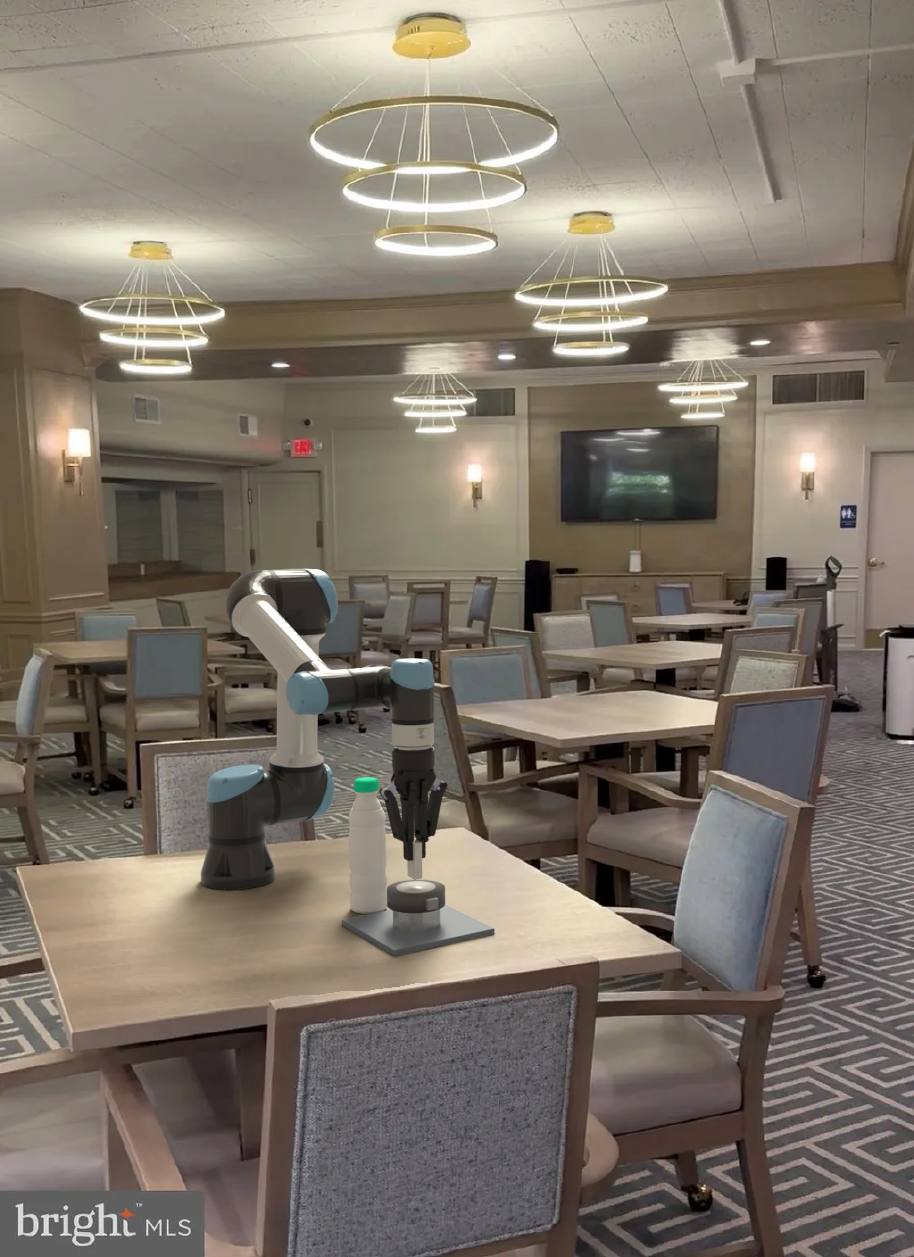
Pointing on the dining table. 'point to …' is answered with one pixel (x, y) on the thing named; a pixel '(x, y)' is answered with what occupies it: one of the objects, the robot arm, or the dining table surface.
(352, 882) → the water bottle
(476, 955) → the dining table surface
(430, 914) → the grey hollow ring
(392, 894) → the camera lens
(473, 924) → the slate board
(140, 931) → the dining table surface
